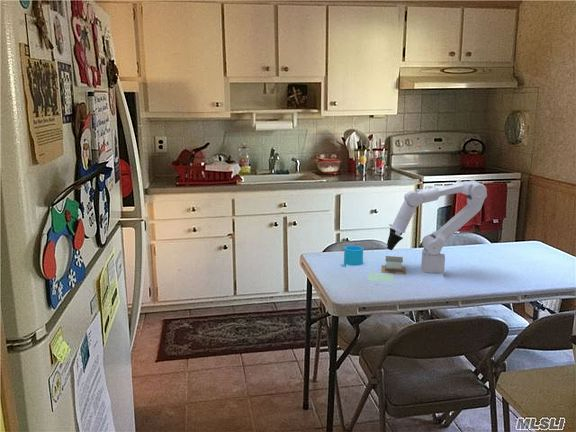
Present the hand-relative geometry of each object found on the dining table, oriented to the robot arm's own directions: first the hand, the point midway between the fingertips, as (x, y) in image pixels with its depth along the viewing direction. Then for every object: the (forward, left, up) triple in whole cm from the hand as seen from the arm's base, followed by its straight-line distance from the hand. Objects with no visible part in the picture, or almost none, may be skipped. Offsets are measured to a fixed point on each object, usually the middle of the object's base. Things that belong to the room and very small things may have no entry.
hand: (389, 247), depth 216 cm
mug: (+16, -8, -11) cm, 21 cm away
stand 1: (+3, +11, -11) cm, 16 cm away
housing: (-2, 0, -9) cm, 10 cm away
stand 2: (-2, 0, -11) cm, 11 cm away
